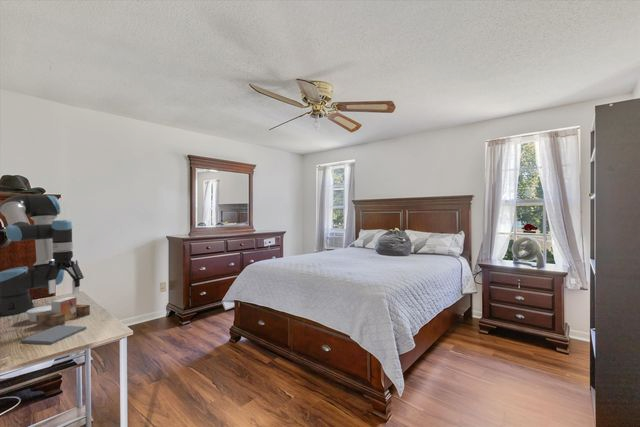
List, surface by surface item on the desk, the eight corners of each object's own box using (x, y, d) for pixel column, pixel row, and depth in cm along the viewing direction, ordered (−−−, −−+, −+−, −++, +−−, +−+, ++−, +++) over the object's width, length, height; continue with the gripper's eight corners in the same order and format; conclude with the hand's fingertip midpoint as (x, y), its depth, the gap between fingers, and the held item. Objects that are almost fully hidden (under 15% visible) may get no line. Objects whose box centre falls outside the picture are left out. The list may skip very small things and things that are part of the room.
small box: (60, 323, 141) (59, 301, 140) (51, 322, 142) (50, 301, 142) (77, 317, 148) (76, 296, 148) (68, 316, 150) (68, 296, 149)
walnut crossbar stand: (36, 325, 138) (36, 315, 138) (70, 313, 154) (69, 304, 154) (58, 326, 136) (58, 316, 136) (89, 314, 152) (89, 305, 152)
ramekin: (59, 317, 148) (59, 307, 148) (29, 325, 139) (29, 314, 139) (54, 313, 155) (53, 303, 155) (24, 320, 146) (24, 309, 146)
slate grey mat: (21, 342, 121) (21, 339, 121) (58, 327, 136) (58, 325, 136) (52, 344, 119) (52, 341, 119) (86, 328, 134) (86, 326, 134)
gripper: (33, 252, 142) (34, 295, 143) (77, 252, 139) (78, 296, 139) (49, 250, 150) (50, 290, 150) (91, 249, 146) (92, 291, 147)
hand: (64, 293), depth 145 cm, fingers open, 13 cm apart
